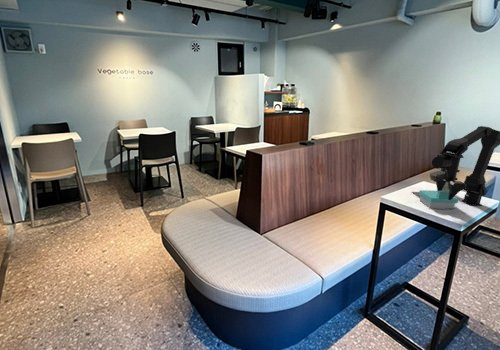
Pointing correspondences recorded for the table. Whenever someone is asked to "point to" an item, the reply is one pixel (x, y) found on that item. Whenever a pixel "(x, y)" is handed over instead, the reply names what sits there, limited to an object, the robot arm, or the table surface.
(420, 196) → the mat
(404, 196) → the table surface
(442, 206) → the tub
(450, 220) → the table surface
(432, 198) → the lid
